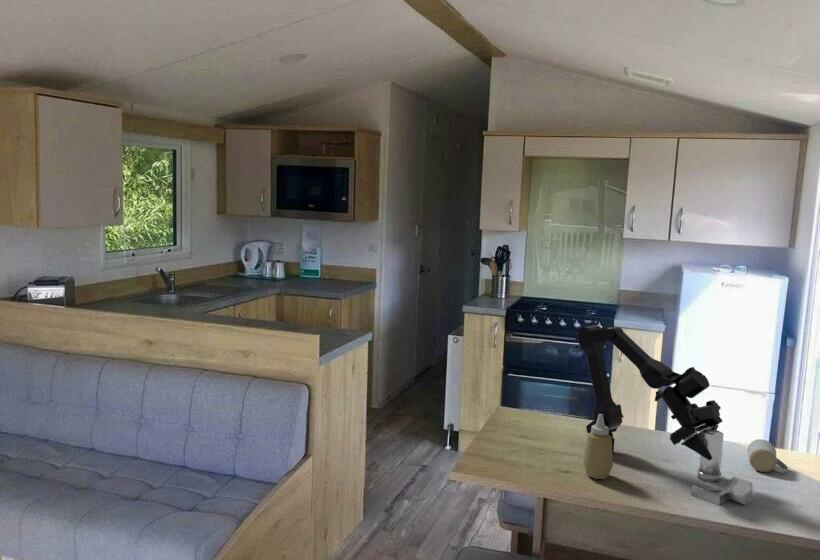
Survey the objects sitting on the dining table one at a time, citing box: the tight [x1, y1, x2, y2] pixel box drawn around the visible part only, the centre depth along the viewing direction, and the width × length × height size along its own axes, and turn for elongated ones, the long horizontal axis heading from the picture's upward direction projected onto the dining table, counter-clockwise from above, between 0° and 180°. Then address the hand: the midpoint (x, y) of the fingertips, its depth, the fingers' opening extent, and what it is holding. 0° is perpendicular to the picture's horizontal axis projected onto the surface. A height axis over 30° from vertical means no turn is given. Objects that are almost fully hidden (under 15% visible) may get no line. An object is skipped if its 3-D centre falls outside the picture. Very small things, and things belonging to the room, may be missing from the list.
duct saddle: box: [690, 475, 754, 506], centre depth 180 cm, size 12×13×6 cm
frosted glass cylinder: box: [696, 429, 725, 484], centre depth 182 cm, size 6×6×13 cm
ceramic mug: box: [747, 439, 789, 474], centre depth 199 cm, size 11×8×8 cm
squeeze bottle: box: [582, 414, 614, 480], centre depth 190 cm, size 8×8×18 cm
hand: (715, 457), depth 181 cm, fingers closed on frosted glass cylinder, 5 cm apart
